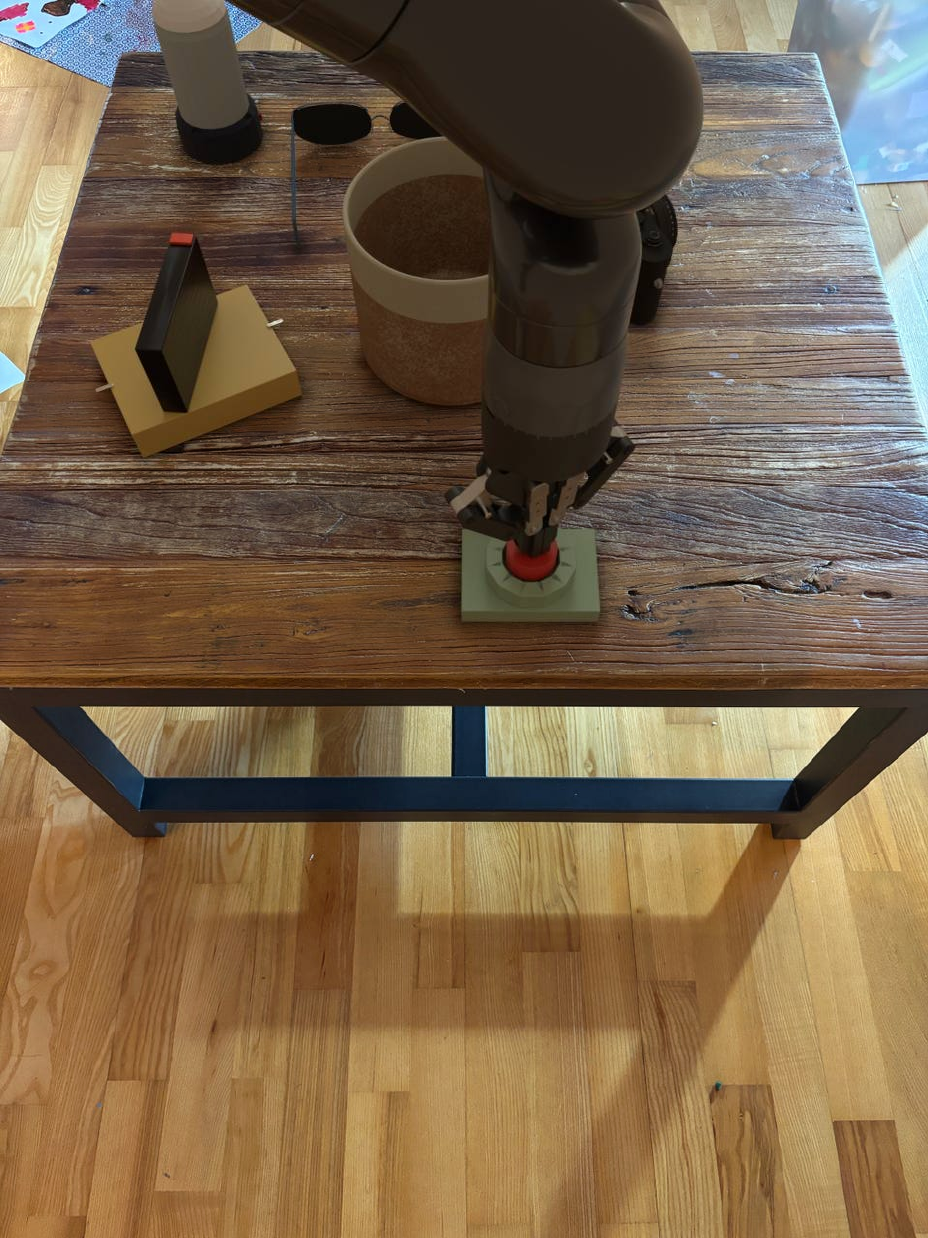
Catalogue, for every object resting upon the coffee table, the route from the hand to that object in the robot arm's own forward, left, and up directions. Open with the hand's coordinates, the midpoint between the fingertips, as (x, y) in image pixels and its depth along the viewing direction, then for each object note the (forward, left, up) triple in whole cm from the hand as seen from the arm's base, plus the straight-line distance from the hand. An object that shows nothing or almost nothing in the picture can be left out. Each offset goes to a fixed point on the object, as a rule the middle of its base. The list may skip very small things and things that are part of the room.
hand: (532, 545), depth 65 cm
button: (0, 0, -2) cm, 2 cm away
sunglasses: (+9, +44, -5) cm, 45 cm away
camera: (+24, +24, -5) cm, 34 cm away
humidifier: (-2, +59, -5) cm, 59 cm away
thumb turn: (-15, +30, -2) cm, 34 cm away
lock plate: (-15, +30, -5) cm, 34 cm away
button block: (0, 0, -5) cm, 5 cm away
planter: (+6, +24, -5) cm, 25 cm away
